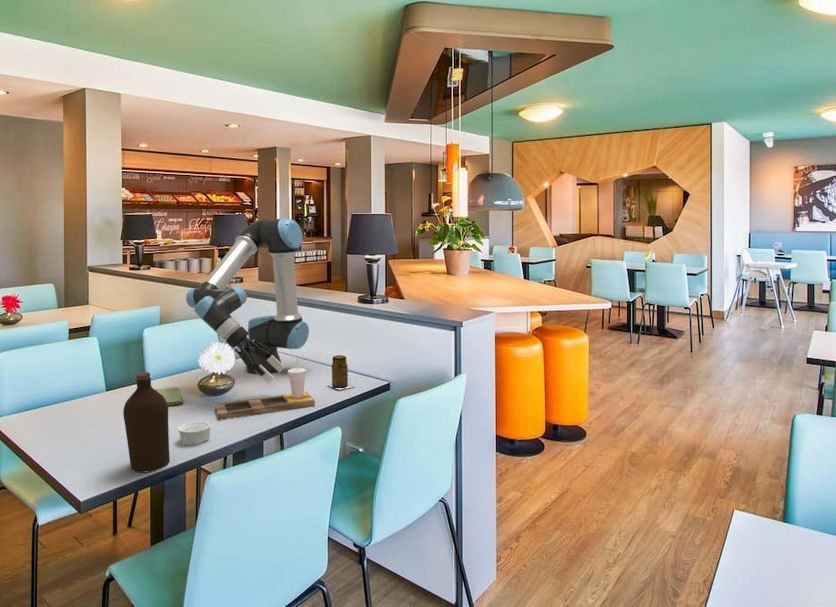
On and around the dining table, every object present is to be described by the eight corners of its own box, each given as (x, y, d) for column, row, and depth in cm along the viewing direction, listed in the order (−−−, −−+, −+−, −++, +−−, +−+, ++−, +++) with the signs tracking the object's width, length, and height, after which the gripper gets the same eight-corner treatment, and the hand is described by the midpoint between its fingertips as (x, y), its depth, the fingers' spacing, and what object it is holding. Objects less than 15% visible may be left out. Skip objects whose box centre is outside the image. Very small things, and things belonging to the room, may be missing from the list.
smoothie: (298, 400, 195) (296, 361, 193) (284, 397, 198) (283, 359, 196) (311, 395, 200) (309, 357, 198) (297, 393, 204) (296, 355, 202)
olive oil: (141, 477, 143) (133, 381, 139) (120, 467, 149) (112, 375, 145) (180, 462, 151) (173, 372, 148) (158, 453, 157) (151, 366, 154)
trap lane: (214, 410, 193) (214, 403, 193) (307, 397, 206) (306, 391, 206) (218, 420, 183) (218, 413, 183) (314, 405, 197) (314, 399, 196)
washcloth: (143, 411, 193) (142, 402, 192) (143, 397, 209) (142, 389, 208) (184, 406, 199) (184, 397, 198) (181, 392, 214) (180, 384, 214)
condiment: (343, 383, 224) (342, 353, 222) (354, 387, 218) (354, 357, 216) (327, 386, 220) (326, 356, 218) (338, 391, 213) (337, 360, 211)
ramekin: (188, 434, 172) (187, 420, 171) (216, 435, 171) (215, 421, 170) (173, 446, 163) (172, 431, 162) (203, 446, 162) (202, 432, 161)
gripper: (238, 333, 209) (279, 372, 211) (211, 348, 185) (258, 393, 186) (251, 319, 208) (293, 359, 210) (226, 332, 184) (274, 377, 186)
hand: (277, 375), depth 198 cm, fingers open, 13 cm apart
